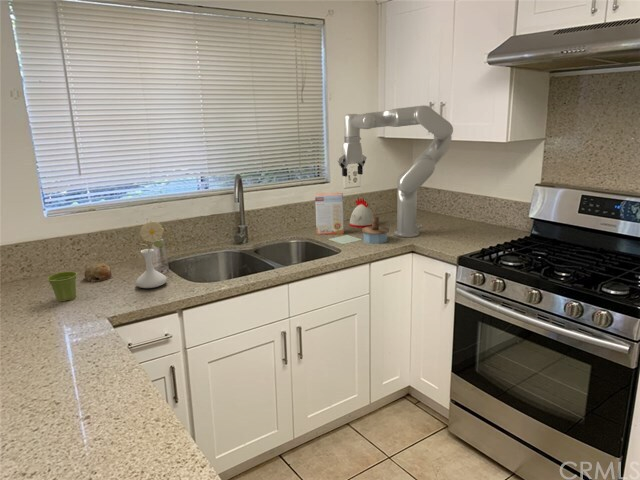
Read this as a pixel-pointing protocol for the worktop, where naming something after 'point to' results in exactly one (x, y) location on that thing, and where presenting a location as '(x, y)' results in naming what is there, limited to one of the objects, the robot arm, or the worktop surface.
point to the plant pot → (63, 285)
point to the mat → (345, 239)
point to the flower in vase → (151, 276)
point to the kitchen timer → (361, 215)
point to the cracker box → (329, 213)
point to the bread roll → (97, 272)
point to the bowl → (375, 238)
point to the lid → (375, 227)
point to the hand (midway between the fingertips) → (352, 175)
